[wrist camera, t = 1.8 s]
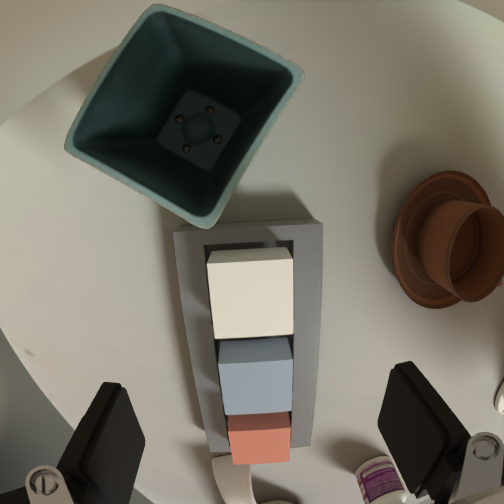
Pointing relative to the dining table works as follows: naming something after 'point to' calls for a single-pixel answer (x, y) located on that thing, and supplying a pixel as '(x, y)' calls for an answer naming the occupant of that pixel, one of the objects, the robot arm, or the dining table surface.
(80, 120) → the flower pot
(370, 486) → the pill bottle
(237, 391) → the key blue
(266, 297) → the key white
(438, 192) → the cup and saucer
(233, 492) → the spoon rest
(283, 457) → the key red
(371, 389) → the dining table surface
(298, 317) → the grey flat tray
